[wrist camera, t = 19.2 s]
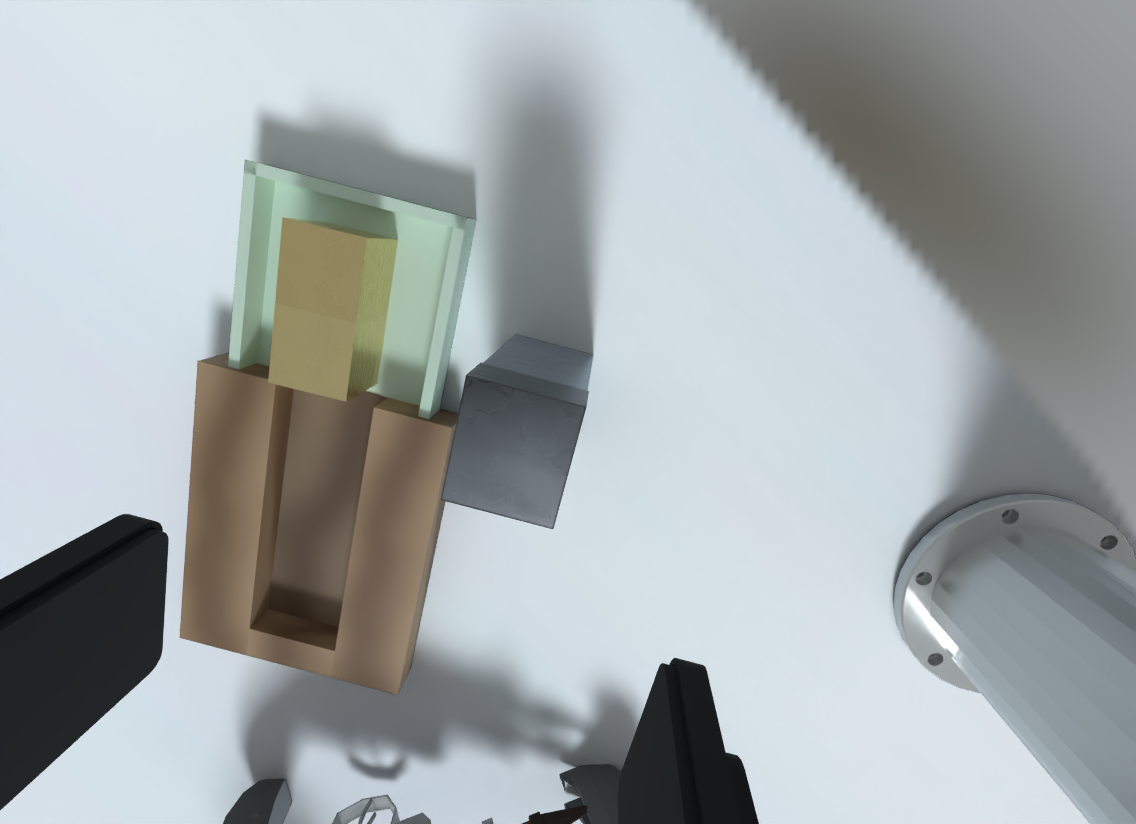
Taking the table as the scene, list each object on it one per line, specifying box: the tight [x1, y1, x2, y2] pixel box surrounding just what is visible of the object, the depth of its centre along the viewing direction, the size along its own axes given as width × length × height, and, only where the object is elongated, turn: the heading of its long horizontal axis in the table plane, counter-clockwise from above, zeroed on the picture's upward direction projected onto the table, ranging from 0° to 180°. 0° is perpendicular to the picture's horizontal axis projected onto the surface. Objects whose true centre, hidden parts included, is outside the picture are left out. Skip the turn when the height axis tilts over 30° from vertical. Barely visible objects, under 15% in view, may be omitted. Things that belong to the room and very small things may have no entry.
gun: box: [223, 764, 621, 824], centre depth 38 cm, size 5×27×15 cm, turn 97°
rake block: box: [441, 335, 593, 529], centre depth 27 cm, size 4×5×11 cm
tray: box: [228, 160, 476, 419], centre depth 30 cm, size 11×11×2 cm
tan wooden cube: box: [275, 217, 398, 323], centre depth 29 cm, size 4×4×4 cm
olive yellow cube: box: [268, 303, 387, 402], centre depth 30 cm, size 4×4×4 cm
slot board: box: [180, 353, 458, 695], centre depth 34 cm, size 14×18×2 cm
